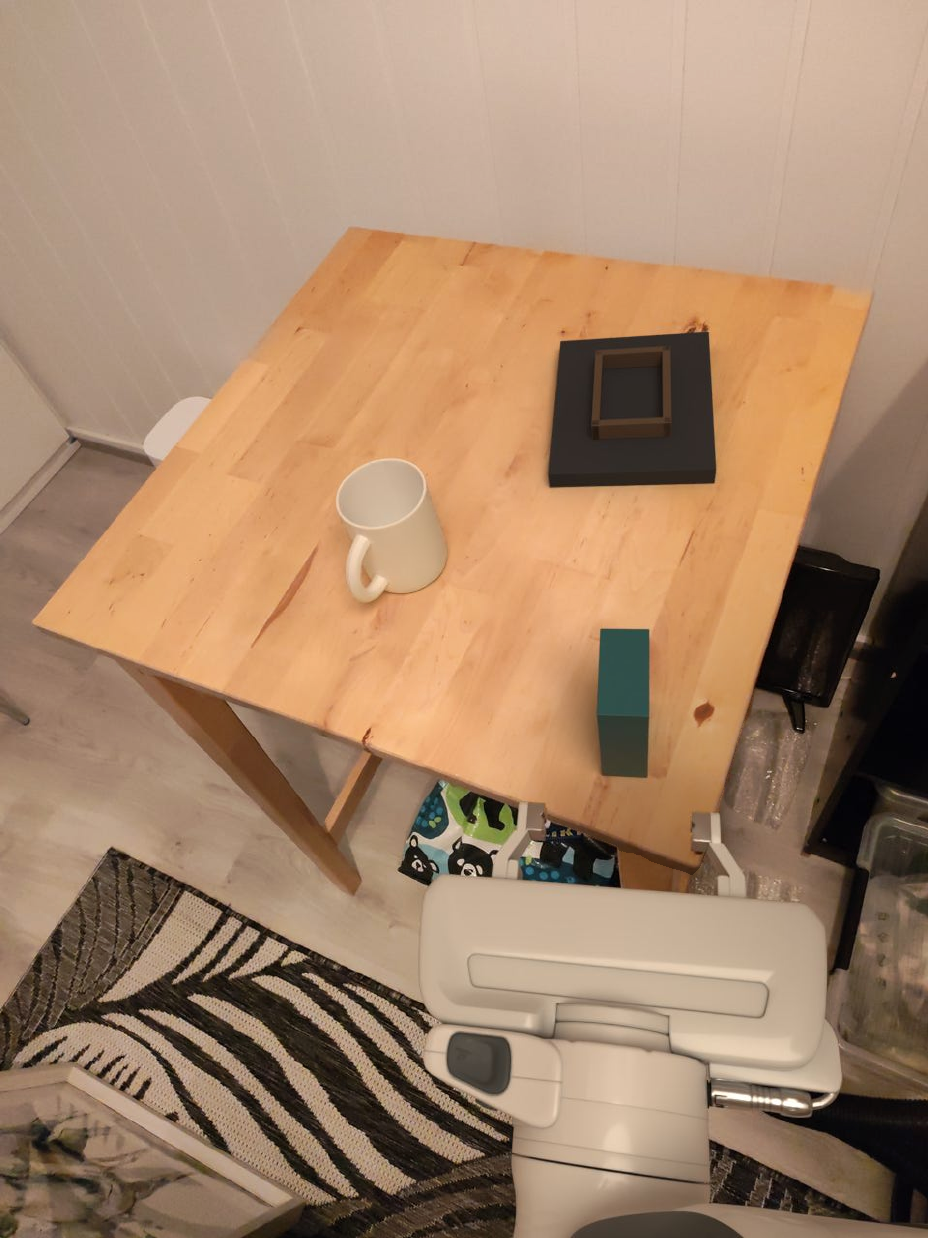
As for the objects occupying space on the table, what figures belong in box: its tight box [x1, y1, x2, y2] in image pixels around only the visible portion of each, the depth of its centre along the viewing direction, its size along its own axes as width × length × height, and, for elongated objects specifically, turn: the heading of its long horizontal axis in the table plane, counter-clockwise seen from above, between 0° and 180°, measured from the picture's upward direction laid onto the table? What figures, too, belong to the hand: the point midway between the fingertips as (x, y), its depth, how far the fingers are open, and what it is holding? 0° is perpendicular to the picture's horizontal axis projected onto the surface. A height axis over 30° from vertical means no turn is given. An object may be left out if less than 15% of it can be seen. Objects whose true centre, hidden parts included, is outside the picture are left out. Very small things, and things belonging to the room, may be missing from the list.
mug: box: [335, 457, 448, 603], centre depth 74 cm, size 12×8×10 cm
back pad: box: [596, 628, 650, 778], centre depth 61 cm, size 4×7×11 cm, turn 173°
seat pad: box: [547, 331, 717, 488], centre depth 83 cm, size 16×20×4 cm
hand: (617, 809), depth 45 cm, fingers open, 8 cm apart
